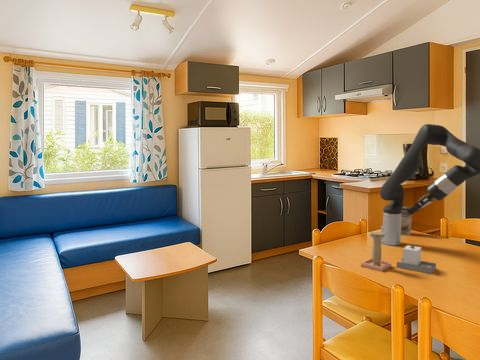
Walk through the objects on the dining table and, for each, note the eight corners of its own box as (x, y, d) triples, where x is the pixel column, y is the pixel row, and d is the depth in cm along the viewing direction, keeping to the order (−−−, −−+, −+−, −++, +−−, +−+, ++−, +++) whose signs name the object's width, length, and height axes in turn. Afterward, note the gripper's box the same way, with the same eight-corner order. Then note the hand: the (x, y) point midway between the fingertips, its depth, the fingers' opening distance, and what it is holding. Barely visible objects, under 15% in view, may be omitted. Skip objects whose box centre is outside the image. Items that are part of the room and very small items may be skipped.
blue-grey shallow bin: (396, 267, 175) (396, 261, 175) (401, 262, 182) (402, 257, 181) (431, 273, 166) (431, 268, 166) (435, 268, 173) (435, 263, 172)
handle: (368, 263, 180) (369, 231, 178) (383, 263, 178) (384, 232, 177) (369, 266, 175) (370, 234, 174) (384, 267, 174) (385, 234, 172)
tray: (361, 266, 178) (361, 262, 177) (370, 261, 184) (370, 257, 184) (381, 271, 170) (381, 267, 170) (391, 266, 176) (391, 262, 176)
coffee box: (394, 234, 233) (394, 207, 231) (394, 231, 239) (395, 205, 237) (410, 235, 229) (411, 208, 227) (410, 232, 235) (411, 206, 233)
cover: (402, 263, 174) (403, 246, 173) (406, 259, 179) (407, 243, 178) (416, 266, 171) (417, 249, 170) (420, 262, 176) (421, 245, 175)
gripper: (439, 178, 165) (410, 202, 174) (431, 182, 154) (400, 207, 163) (452, 191, 163) (422, 215, 171) (445, 196, 152) (413, 221, 160)
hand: (412, 211), depth 167 cm, fingers open, 8 cm apart
